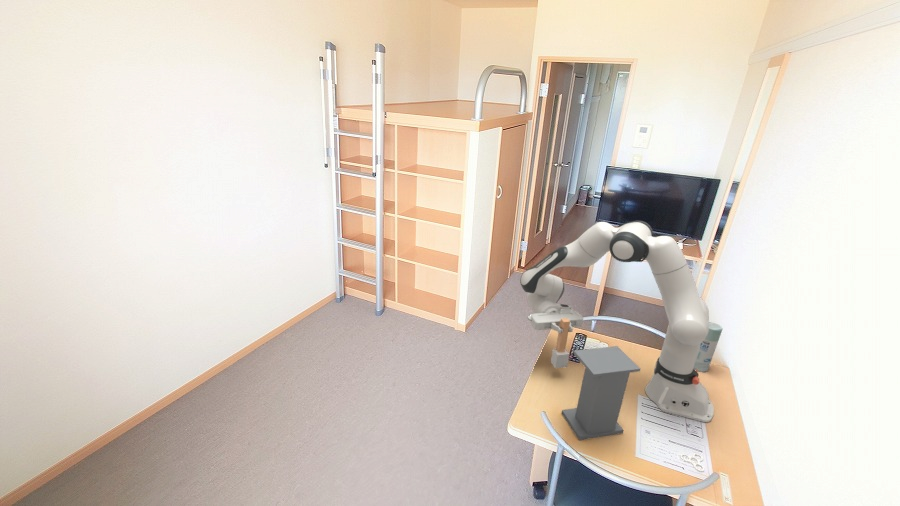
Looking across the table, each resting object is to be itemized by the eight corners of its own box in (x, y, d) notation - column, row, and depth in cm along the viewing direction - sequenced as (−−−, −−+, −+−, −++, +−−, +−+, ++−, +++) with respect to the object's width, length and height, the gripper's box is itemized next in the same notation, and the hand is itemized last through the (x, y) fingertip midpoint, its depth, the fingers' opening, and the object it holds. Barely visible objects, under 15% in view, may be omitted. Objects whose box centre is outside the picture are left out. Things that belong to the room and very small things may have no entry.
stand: (561, 413, 143) (573, 350, 133) (602, 407, 147) (617, 346, 137) (579, 440, 132) (593, 374, 123) (622, 433, 136) (640, 368, 126)
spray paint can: (711, 371, 170) (726, 329, 162) (698, 373, 168) (713, 331, 161) (699, 361, 175) (713, 321, 168) (686, 363, 174) (700, 322, 166)
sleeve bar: (557, 318, 154) (562, 324, 151) (570, 317, 155) (575, 323, 152) (550, 361, 162) (555, 368, 158) (562, 360, 163) (567, 366, 159)
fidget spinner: (698, 454, 130) (699, 452, 130) (712, 472, 124) (713, 470, 124) (677, 455, 129) (678, 453, 129) (690, 473, 123) (691, 471, 123)
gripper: (526, 308, 163) (541, 325, 150) (573, 304, 167) (591, 321, 155) (524, 322, 165) (539, 340, 152) (571, 318, 169) (589, 335, 157)
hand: (566, 330), depth 154 cm, fingers closed on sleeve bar, 2 cm apart
